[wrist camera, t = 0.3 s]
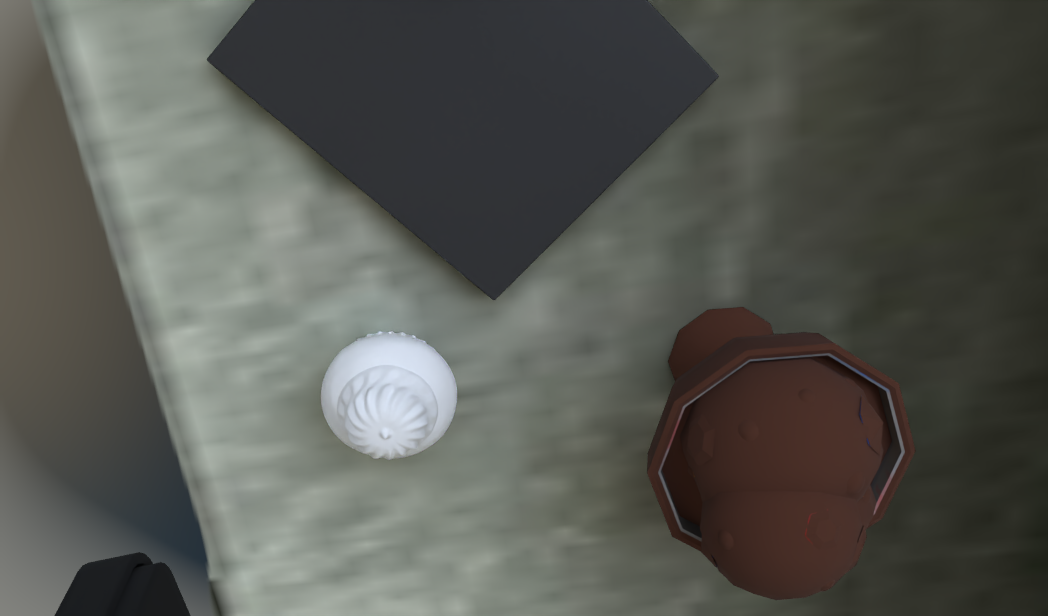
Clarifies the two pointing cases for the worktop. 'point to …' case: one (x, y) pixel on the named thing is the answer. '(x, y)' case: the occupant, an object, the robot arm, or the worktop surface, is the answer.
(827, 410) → the ice cream bowl
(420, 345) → the muffin
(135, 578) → the robot arm
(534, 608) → the worktop surface
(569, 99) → the scale
